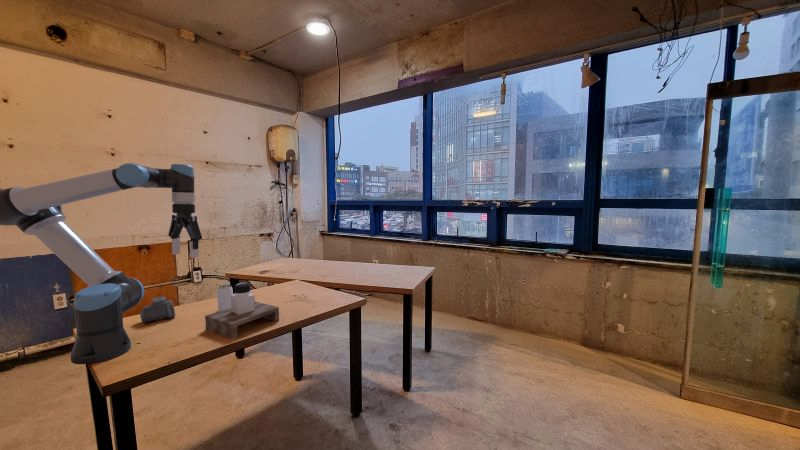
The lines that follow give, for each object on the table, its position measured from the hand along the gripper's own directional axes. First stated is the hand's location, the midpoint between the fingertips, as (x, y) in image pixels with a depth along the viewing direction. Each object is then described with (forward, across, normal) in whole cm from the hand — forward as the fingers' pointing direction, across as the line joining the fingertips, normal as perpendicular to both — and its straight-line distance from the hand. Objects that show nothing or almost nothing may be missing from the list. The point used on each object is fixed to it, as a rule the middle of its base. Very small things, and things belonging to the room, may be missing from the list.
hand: (185, 255), depth 125 cm
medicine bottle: (+25, -15, -15) cm, 33 cm away
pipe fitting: (+32, +24, 0) cm, 40 cm away
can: (+31, +9, -22) cm, 39 cm away
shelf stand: (+31, -15, -15) cm, 37 cm away
